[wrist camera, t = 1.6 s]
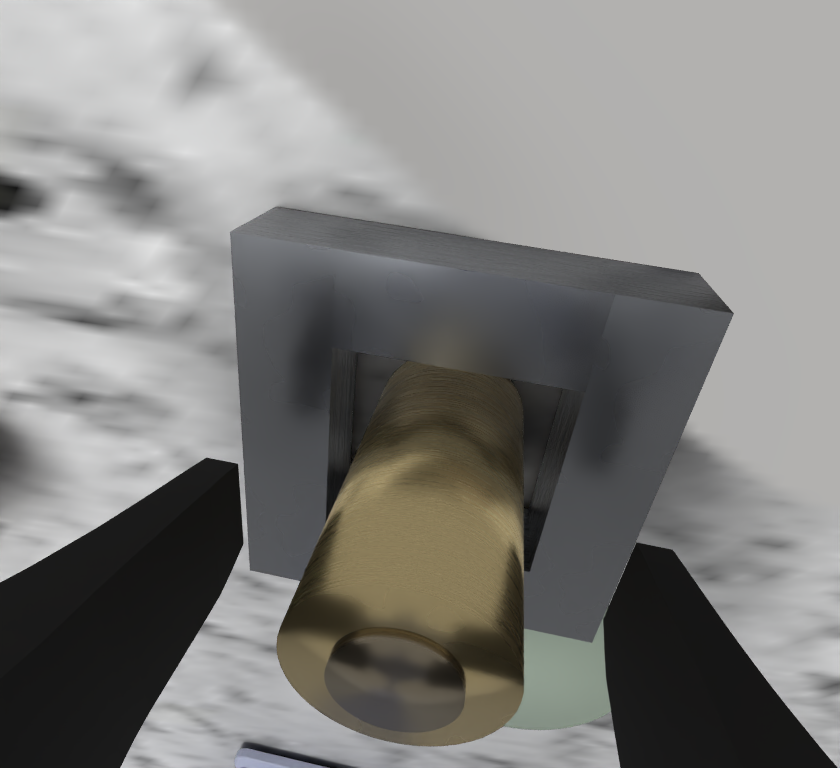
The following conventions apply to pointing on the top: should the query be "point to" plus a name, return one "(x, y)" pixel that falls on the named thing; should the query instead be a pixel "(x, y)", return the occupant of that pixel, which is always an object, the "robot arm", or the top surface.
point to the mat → (562, 682)
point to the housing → (473, 352)
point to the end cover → (420, 569)
